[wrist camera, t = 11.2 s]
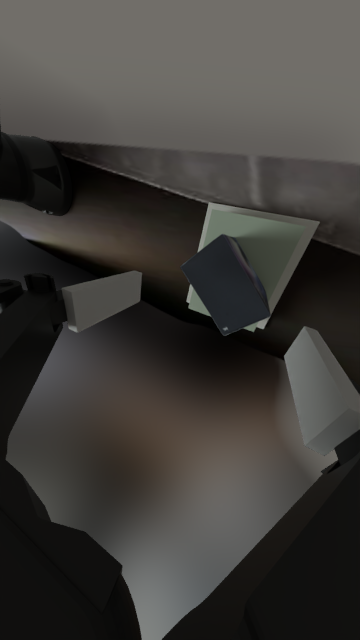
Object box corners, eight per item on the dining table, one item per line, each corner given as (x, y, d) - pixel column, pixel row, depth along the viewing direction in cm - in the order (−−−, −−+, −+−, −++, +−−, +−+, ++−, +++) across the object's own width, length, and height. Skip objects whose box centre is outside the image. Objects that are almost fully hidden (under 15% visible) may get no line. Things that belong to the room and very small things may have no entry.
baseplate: (187, 300, 41) (186, 301, 40) (210, 203, 31) (209, 202, 30) (263, 327, 36) (263, 329, 35) (318, 222, 26) (320, 221, 25)
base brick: (197, 299, 39) (188, 308, 34) (219, 214, 30) (212, 209, 25) (254, 319, 35) (253, 331, 30) (297, 229, 27) (306, 226, 22)
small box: (269, 292, 27) (275, 317, 18) (233, 310, 30) (222, 338, 21) (236, 234, 25) (224, 230, 17) (201, 260, 29) (177, 268, 20)
